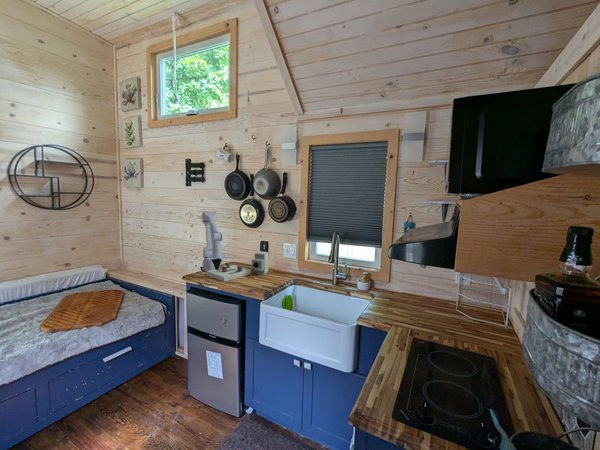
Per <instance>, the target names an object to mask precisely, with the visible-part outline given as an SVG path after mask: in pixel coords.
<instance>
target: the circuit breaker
mask: <svg viewBox="0 0 600 450" xmlns="http://www.w3.org/2000/svg"><path fill="white" fill-rule="evenodd" d="M269 255H270V254H269V251H260V250H259V251H257V252H255V253H254V258H252V259H251V271H254V274H258V275H266V274H267V273H269V258H270V257H269Z"/></svg>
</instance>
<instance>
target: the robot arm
mask: <svg viewBox="0 0 600 450" xmlns="http://www.w3.org/2000/svg"><path fill="white" fill-rule="evenodd" d="M217 218H218V214H217V212H216V211H202V213H201V222H202V224H203V225H204V226H205V240H206V246H205V247H203V249H202V258H203V260H202V268H201V271H204V272H206V271H209V270H213V269H215V270H218V269H219V268H220V266H221V263H222V262H223V260H222V259H226V258H227V255H226V254H222V241H223V234H222V232H221V231H220V229H219V226H218V225H217V223H216V221H217Z"/></svg>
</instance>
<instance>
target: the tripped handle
mask: <svg viewBox="0 0 600 450" xmlns="http://www.w3.org/2000/svg"><path fill="white" fill-rule="evenodd" d="M221 268H222V271H223V272H226V271H227V266H226V265H225V264H223V265H221Z"/></svg>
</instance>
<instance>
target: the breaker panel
mask: <svg viewBox="0 0 600 450" xmlns="http://www.w3.org/2000/svg"><path fill="white" fill-rule="evenodd" d="M224 265H226V266H227V271H226V272H223V271H222V267H219V269H218V270H215V269H213V270H209V271H205V272H206V275H205V276H208V277H211V278H213V279H216V280H218V281H222V282H227V281H231V280H233V279H238V278H241V277H244V276H248V275H251V274H252V269H250V268H249V269H248V268H246V267H243V265H236V264H232V265H231V263H230V262H224Z"/></svg>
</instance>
